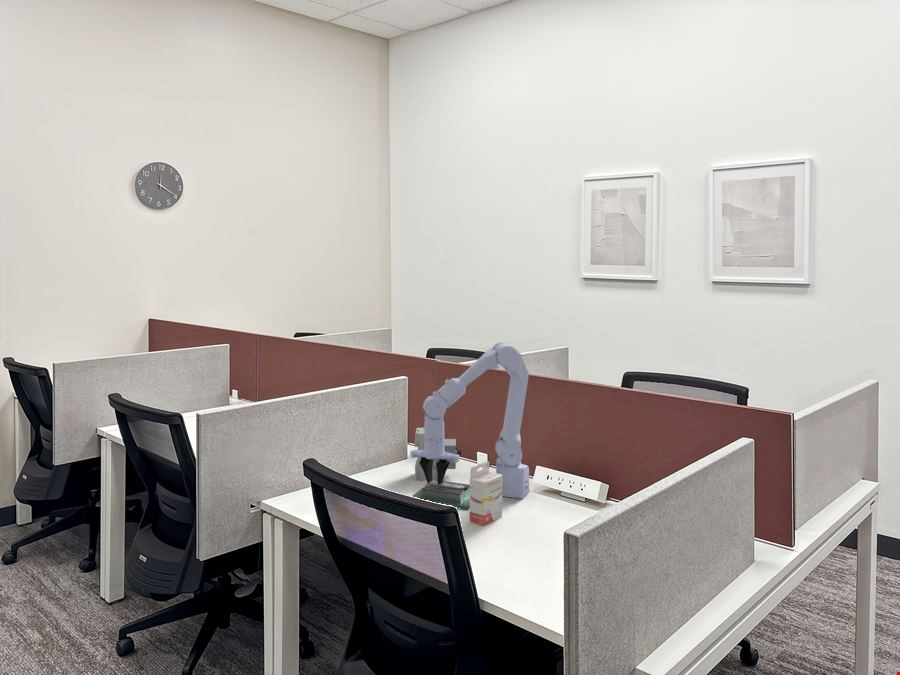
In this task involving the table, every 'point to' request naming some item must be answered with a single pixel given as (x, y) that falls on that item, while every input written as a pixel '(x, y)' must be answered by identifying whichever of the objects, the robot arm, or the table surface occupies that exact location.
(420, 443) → the circuit breaker
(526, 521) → the table surface
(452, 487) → the grey flat bar
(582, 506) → the table surface
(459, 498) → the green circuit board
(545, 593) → the table surface
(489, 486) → the ink cartridge box
